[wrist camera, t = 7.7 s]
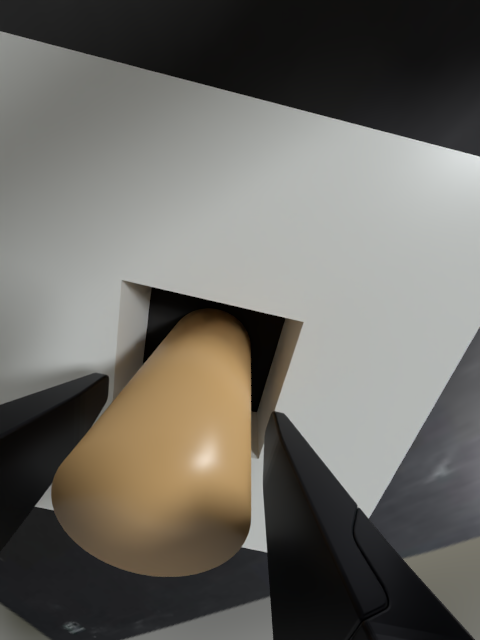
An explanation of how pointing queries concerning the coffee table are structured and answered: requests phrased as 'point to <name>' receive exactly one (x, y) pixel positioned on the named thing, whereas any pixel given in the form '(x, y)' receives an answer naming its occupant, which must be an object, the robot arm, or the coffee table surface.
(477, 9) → the coffee table surface
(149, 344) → the coffee table surface
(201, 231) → the grey board with hole
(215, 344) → the tan peg
